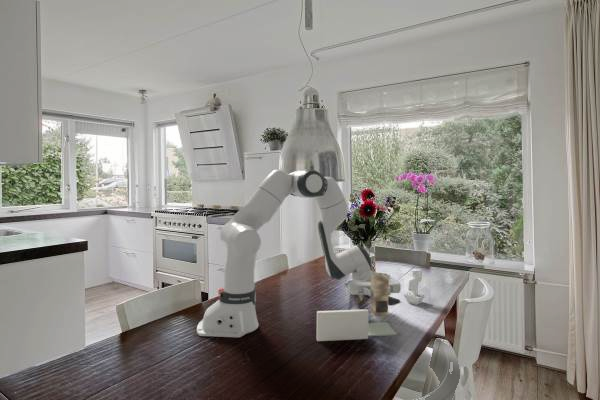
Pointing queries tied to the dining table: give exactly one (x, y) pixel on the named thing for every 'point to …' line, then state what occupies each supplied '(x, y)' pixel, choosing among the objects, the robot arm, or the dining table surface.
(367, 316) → the upright white panel
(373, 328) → the pad
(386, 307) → the marked block
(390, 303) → the phone
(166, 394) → the dining table surface
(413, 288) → the figurine
